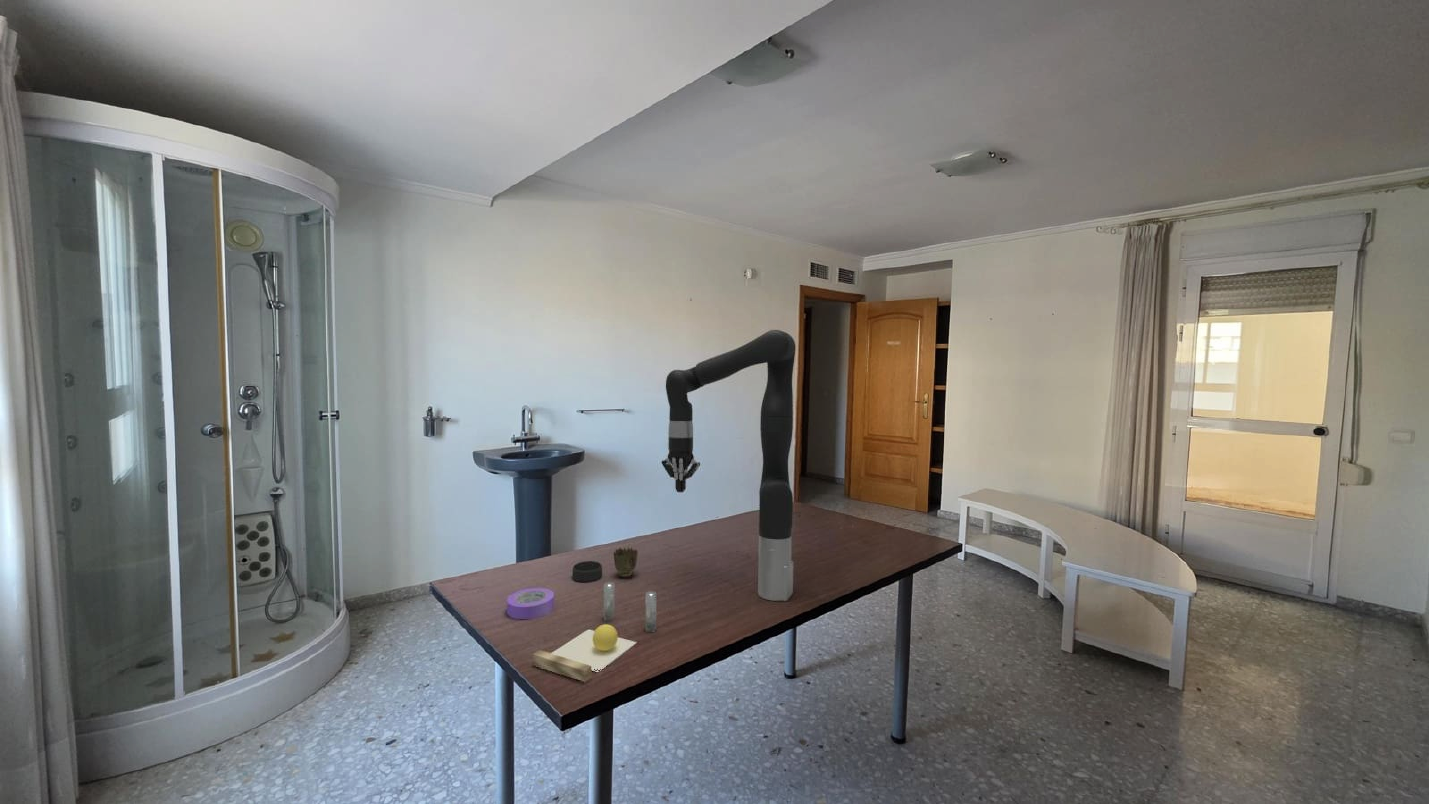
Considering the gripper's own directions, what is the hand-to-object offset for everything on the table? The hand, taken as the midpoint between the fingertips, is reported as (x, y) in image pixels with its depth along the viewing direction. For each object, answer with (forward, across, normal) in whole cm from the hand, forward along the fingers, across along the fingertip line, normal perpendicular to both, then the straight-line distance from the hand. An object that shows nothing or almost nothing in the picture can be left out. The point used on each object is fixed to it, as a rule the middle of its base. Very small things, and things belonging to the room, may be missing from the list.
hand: (680, 491), depth 158 cm
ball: (+24, -6, +45) cm, 51 cm away
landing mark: (+27, -4, +46) cm, 53 cm away
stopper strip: (+27, -4, +56) cm, 62 cm away
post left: (+27, +2, +32) cm, 42 cm away
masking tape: (+28, +24, +37) cm, 52 cm away
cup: (+27, +16, +6) cm, 32 cm away
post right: (+27, -10, +32) cm, 43 cm away
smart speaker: (+28, +26, +12) cm, 40 cm away
